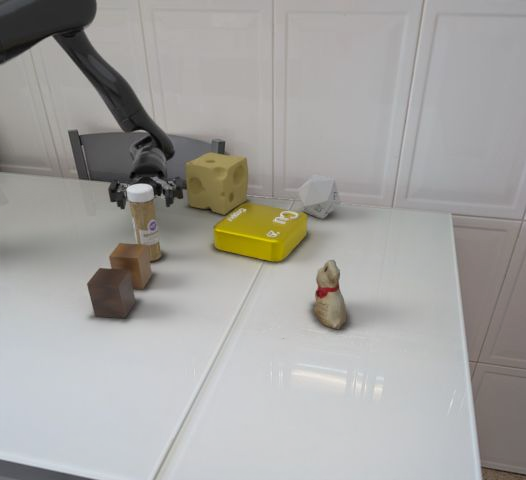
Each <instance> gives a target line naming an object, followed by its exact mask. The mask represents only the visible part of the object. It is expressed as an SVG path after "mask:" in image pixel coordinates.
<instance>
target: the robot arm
mask: <svg viewBox="0 0 526 480" xmlns="http://www.w3.org/2000/svg"><path fill="white" fill-rule="evenodd" d="M97 12H98V1H97V0H0V67H1V66H3V65H5V64H7V63H9V62H11V61H12V60H14V59H16V58H18V57H20V56H21V55H23V54H24V53H26V52H27V51H29V50H31V49H32V48H34V47H35V46H37V45H38V44H40V43H41V42H43V41H45V40H46V39H48V38H50V37H52V38H53V40H55V42H56V43H57V44H58V46H59V47H60V48H61V49H62V50H63V51H64V52H65V54H66V55H67V56H68V57H69V59H71V61H72V62H73V64H74V65H75V66H76V67H77V68H78V69H79V71H80V72H81V73H82V74H83V75H84V77H85V78H86V80H87V81H88V82H89V83H90V85H92V87H93V88H94V89H95V91H96V92H97V94H98V95H99V97H100V98H101V100H102V101H103V103H104V104H105V106H106V108H107V109H108V111H109V112H110V114H111V115H112V117H113V118H114V120H115V122H116V123H117V125H118V126H119V128H120V129H121V131H123V133H127V134H130V133H133V132H138V131H144V132H146V133H147V135H145V136H143V137H142V138H140V139H137V140H136V141H135V142H133V143H132V144H131V145H130V147H129V155H130V157H131V160H132V165H131V169H130V173H129V178H128V179H127V180H126V181H125V182H120V181H119V179H118V178H117V179H116V178H114V179H112V180H111V183H110V184H109V186H108V188H107V191H108V192H107V193H108V196H109V201H110V202H111V203H116V206H117V208H119V209H120V210H125V209H126V205H127V202H129V200H128V197H127V188H128V187H129V186H131V185H134V184H148V185H151V186H152V187H153V192H154V199H157V198H158V199H160V200H162V201H165V207H166V208H170V207H171V205H173V204H174V201H175V198H176V199H178V200H182V199H184V193H183V182H182V177H181V176H175V177H174V178H173V179H172V180H168V168H167V162H168V161H170V160H172V159H173V158H174V157H175V154H176V145H175V143H174V141H173V139H172V137H170V135H169V134H167V132H166V131H164V130H163V128H161V127H160V126H159V125H158V123H156V122H155V120H154V119H153V118H152V117H151V116H150V115H149V113H148V112H147V110H146V108H145V107H144V106H143V104H142V102H141V100H140V99H139V97H138V95H137V93H136V91H135V90H134V89H133V87H132V86H131V84H130V83H129V82H128V81H127V79H126V78H125V77H124V76H123V75H122V74H121V73H120V72H119V71H118V70H117V69H116V68H114V66H112V65H111V64H110V63H108V61H106V59H105V58H104V57H103V56H102V55H101V54H100V53H99V52H98V51H97V49H96V48H95V47H94V45H93V43H92V42H91V41H90V38H89V37H88V35H87V34H86V31H85V30H86V29H88V28H89V27H90V26H91V25H92V23H93V22H94V20H95V19H96V16H97Z"/></svg>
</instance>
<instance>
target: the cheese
mask: <svg viewBox="0 0 526 480" xmlns="http://www.w3.org/2000/svg"><path fill="white" fill-rule="evenodd" d="M248 165H249V164H248V159H247V157H245V156H237V155H227V154H221V153H217V152H211V151H209V152H207V153H205V154H203V155H201V156H199V157H197V158H195V159H192V160H190V161H187V162H186V163H184V167H185V168H184V169H185V171H184V172H185V179H186V180H185V181H186V193H187V200H188V205H189V207H193V208H197V209H201V210H209V209H210V210H211V212H213V213H215V214H220V215H223V216H224V215H226V214H228V213H230V212H231V211H232V210H234V209H236V208H237V207H239V206H240V205H242V204H244V203H246V201H247V196H248V186H249V166H248Z"/></svg>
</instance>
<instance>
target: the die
mask: <svg viewBox="0 0 526 480" xmlns="http://www.w3.org/2000/svg"><path fill="white" fill-rule="evenodd" d="M297 193H298V196H299V199H300V203H301V206H302V209H303V211H304V212H303V213H305V214H306V215H310V216H312V217H315V218H318V219H321V220H324V219H325V218H326V217H327V216H328V215H329V214H330V213H332V212H333V211H334V210H335V209H336V208H337V207H338V206H340V205H341V204H342V202H341V198H340V194H339V191H338V187H337V184H336V179H334V178H331V177H328V176H324V175H321V174H319V173H315V174H313V175H312V176H311V177H310V178H309V179H308V180H307V181H306V182H304V183H303V185H301V186H300V187H299V188H297Z"/></svg>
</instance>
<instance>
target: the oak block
mask: <svg viewBox="0 0 526 480" xmlns="http://www.w3.org/2000/svg"><path fill="white" fill-rule="evenodd" d="M108 258H109V264H110V269H123V270H130V275H131V280H132V286H133V290H144V289H145V287H146V285H147V284H148V282H149V281H150V279H151V277H152V276H153V273H152V267H151V261H150V259H149V253H148V247H147V245H144V244H136V243H127V242H126V243H124V242H119V243H118V244H117V246H115V248H114V249H113V251H112V252H110V254H109V256H108Z"/></svg>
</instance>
